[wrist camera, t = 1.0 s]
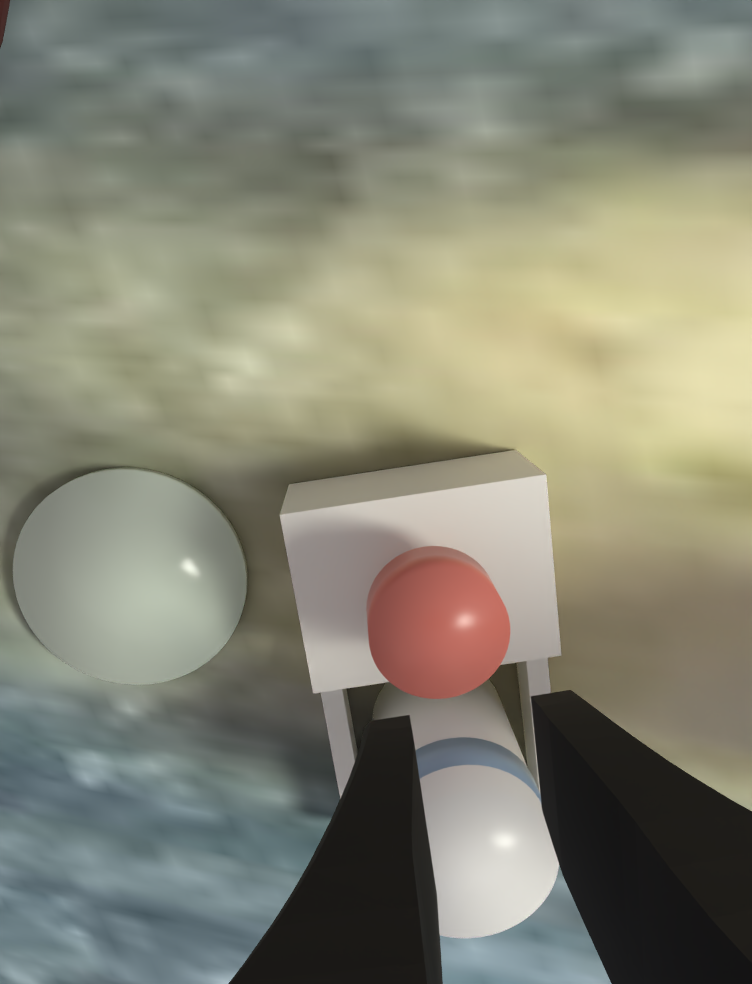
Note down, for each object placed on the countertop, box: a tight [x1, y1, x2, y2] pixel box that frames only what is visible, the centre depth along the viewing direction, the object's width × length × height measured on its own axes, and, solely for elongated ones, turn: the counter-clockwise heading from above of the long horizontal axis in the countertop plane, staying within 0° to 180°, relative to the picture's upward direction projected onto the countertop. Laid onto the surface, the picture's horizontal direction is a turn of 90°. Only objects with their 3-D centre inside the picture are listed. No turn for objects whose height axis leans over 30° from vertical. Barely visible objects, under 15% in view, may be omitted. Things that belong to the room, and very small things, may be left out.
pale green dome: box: [13, 467, 248, 685], centre depth 20 cm, size 6×6×1 cm
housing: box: [280, 450, 561, 798], centre depth 20 cm, size 11×6×3 cm, turn 8°
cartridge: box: [372, 679, 559, 938], centre depth 19 cm, size 4×4×6 cm
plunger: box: [366, 546, 510, 699], centre depth 17 cm, size 3×3×4 cm
